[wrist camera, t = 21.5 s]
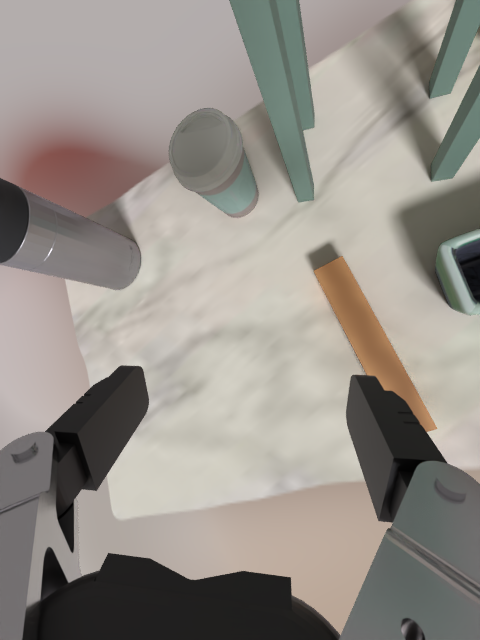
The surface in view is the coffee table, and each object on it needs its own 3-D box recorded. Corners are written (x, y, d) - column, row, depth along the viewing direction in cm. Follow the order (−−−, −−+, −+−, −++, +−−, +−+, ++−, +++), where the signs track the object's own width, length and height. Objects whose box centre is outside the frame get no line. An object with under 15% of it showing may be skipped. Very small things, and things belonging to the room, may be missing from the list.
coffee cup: (280, 184, 37) (252, 119, 26) (244, 237, 39) (203, 196, 28) (235, 160, 40) (192, 91, 29) (203, 210, 42) (151, 162, 30)
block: (394, 429, 31) (400, 439, 28) (316, 277, 35) (313, 270, 32) (427, 419, 30) (437, 428, 27) (342, 263, 34) (342, 255, 31)
